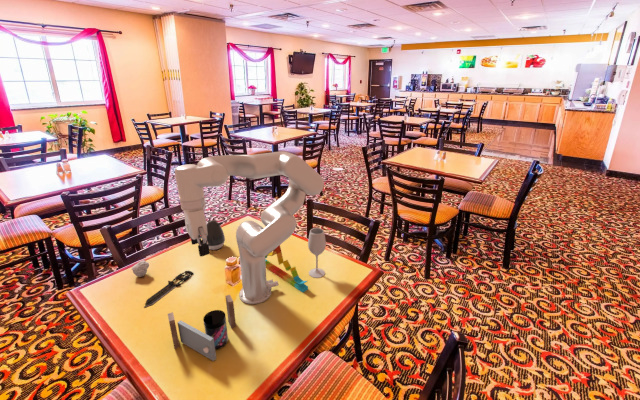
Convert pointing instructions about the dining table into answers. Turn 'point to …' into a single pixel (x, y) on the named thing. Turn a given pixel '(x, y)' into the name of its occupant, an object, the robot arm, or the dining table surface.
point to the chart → (293, 279)
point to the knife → (167, 288)
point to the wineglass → (316, 249)
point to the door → (197, 340)
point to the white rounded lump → (140, 268)
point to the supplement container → (216, 327)
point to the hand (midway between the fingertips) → (200, 248)
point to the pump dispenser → (215, 235)
